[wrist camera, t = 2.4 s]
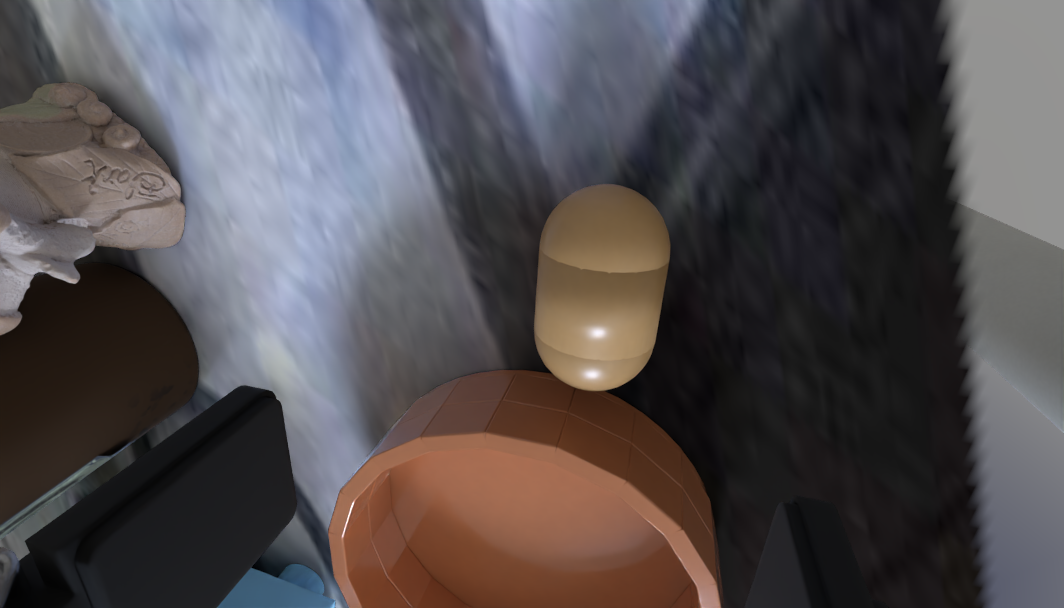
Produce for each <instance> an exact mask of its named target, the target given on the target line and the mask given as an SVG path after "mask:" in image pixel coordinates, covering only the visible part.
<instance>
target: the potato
mask: <svg viewBox="0 0 1064 608" xmlns="http://www.w3.org/2000/svg"><path fill="white" fill-rule="evenodd" d="M669 260H670V239H669V233H668V230H667V227H666V225H665V222H664V219H663V217H662V216H661V214H660V213H659V211H658V210H657V208H656V207H655V206H654V205H653V204H652V203H651V202H650V201H649V200H648V199H647V198H646V197H644V196H643V195H641V194H639V193H638V192H636V191H635V190H632V189H629V188H626V187H623V186H620V185H615V184H599V185H592V186H588V187H585V188H582V189H580V190H577V191H575V192H574V193H572V194H571V195H569V196H568V197H566V198H565V199H563V200H562V201H561V202H560V203H559V204H558V205H557V206H556V207H555V208H554V210H553V211H552V213H551V214H550V216H549V217H548V219H547V221H546V223H545V226H544V228H543V231H542V234H541V240H540V247H539V262H538V276H537V291H536V306H535V320H534V336H535V343H536V347H537V350H538V353H539V355H540V357H541V359H542V360H543V362H544V364H545V366H546V367H547V368H548V369H549V370H550V371H551V372H552V373H553V375H554V376H555V377H557V378H558V379H559V380H561V381H562V382H564V383H566V384H568V385H570V386H572V387H574V388H577V389H581V390H586V391H605V390H609V389H613V388H616V387H619V386H621V385H623V384H625V383H626V382H628V381H630V380H631V379H633V378H634V377H635V376H636V375H637V374H638V373H639V372H640V371H641V370H642V369H643V368H644V366H645V365H646V363H647V362H648V360H649V358H650V356H651V354H652V351H653V347H654V344H655V340H656V335H657V329H658V323H659V317H660V312H661V306H662V300H663V294H664V288H665V283H666V277H667V271H668V265H669Z"/></svg>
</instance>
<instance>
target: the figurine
mask: <svg viewBox="0 0 1064 608" xmlns="http://www.w3.org/2000/svg"><path fill="white" fill-rule="evenodd" d="M180 198H181V187H180V185H179V183H178V182H177V181H176V179H175V178H174V177H172V176H171V171H170V169H169V167H168V166H167V165H166V163H165V162H164V161H163V159H162V158H161V157H160V156H159V155H158V154H157V153H156V152H155V150H154V149H152V148H150V147H149V145H148V143H147V142H146V141H145V140H144V139H143V138H142V137H141V135H140V132H139V131H138V130H137V129H136V128H135V127H132V126H131V125H129V124H128V123H125V122H124V121H123V119H121V118H120V117H117V116H116V114H115V113H114V112H112V111H111V109H110V108H109V107H108V106H107V105H106V104H104V103H102V102H99V100H98V97H97V94H95V92H94V91H91V90H89V89H88V88H86V87H85V86H82V85H80V84H77V83H70V82H67V83H57V84H56V83H53V84H45V85H44V86H42V87H41V88H37V89H36V91H35V92H34V93H33V97H32V98H31V99H30V100H28V101H27V102H25V103H23V104H17V105H12V106H8V107H5V108H2V109H0V335H2V334H5V333H7V332H9V331H11V330H12V329H14V328H15V327H16V326H17V325H18V324H19V323H20V321H21V319H22V315H21V313H20V312H18V310H17V309H18V307H19V305H20V302H21V301H22V300H23V298H24V294H25V292H26V290H27V289H28V288H29V287H30V282H31V280H32V279H33V277H34V274H36V273H37V272H45V273H48V274H49V275H51V276H53V277H55V278H58V279H61V280H64V281H66V282H69V283H73V284H75V283H77V282H78V281H79V279H80V274H79V273H78V271H77V270H76V268H75V266H74V265H73V264H74V262H75V260H77V259H79V258H81V257H84V256H86V255H88V254H90V253H91V252H92V251H93V250H94V248H95V245H97V246H105V247H117V248H120V249H124V250H138V249H142V248H155V249H157V248H167V247H171V246H173V245H175V244H177V243H178V242H179V240H180V239H181V237H182V235H183V231H184V226H185V225H184V223H185V217H186V216H185V214H186V213H185V210H186V209H185V206H184V204H183V203H181V202H180Z"/></svg>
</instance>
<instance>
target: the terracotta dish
mask: <svg viewBox="0 0 1064 608" xmlns="http://www.w3.org/2000/svg"><path fill="white" fill-rule="evenodd" d="M328 536H329V544H330V551H331V559H332V567H333V573H334V577H335V579H336V582H337V584H338V586H339V588H340V590H341V592H342V594H343V596H344V598H345V600H346V602H347V604H348V606H349V608H724V606H723V595H722V584H721V573H720V562H719V551H718V543H717V537H716V531H715V523H714V518H713V512H712V507H711V502H710V499H709V497H708V495H707V492H706V489H705V487H704V484H703V482H702V481H701V479H700V477H699V475H698V473H697V471H696V469H695V468H694V466H693V464H692V463H691V462H690V460H689V459H688V458H687V456H686V455H685V454H684V452H683V451H682V449H681V448H680V447H679V446H678V445H677V444H676V443H675V442H674V440H673V439H672V438H671V437H670V436H669V435H668V434H667V433H666V432H665V431H664V430H663V429H662V428H661V427H659V426H658V425H657V424H656V423H655V422H653V421H652V420H651V419H650V418H648V417H647V416H646V415H645V414H643V413H642V412H641V411H639V410H637V409H636V408H634V407H633V406H631V405H630V404H628V403H626V402H625V401H623V400H622V399H620V398H618V397H616V396H614V395H612V394H610V393H608V392H606V391H586V390H581V389H577V388H574V387H572V386H570V385H568V384H566V383H564V382H562V381H561V380H559V379H558V378H557V377H555V376H554V375H553V374H551V373H545V372H537V371H528V370H496V371H488V372H480V373H475V374H471V375H467V376H464V377H460V378H456V379H454V380H452V381H449V382H447V383H444V384H442V385H440V386H438V387H436V388H434V389H433V390H431V391H430V392H428V393H426V394H425V395H423V396H422V397H421V398H419V399H417V400H416V401H415V402H414V403H413V404H412V405H411V406H410V407H409V408H408V409H407V410H406V412H405V413H404V414H403V415H402V416H401V417H400V418H399V420H398V421H397V422H396V423H395V424H394V425H393V426H392V427H391V428H390V429H389V430H388V432H387V433H386V434H385V435H384V437H383V438H382V439H381V440H380V442H379V443H378V444H377V445H376V446H375V448H374V449H373V450H372V451H371V453H370V454H369V455H368V456H367V458H366V459H365V460H364V461H363V462H362V464H361V465H360V466H359V467H358V469H357V470H356V471H355V472H354V473H353V475H352V476H351V477H350V478H349V480H348V481H347V482H346V483H345V485H344V486H343V487H342V488H341V490H340V492H339V495H338V498H337V502H336V505H335V509H334V512H333V515H332V519H331V522H330V526H329V529H328Z"/></svg>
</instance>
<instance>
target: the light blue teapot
mask: <svg viewBox="0 0 1064 608" xmlns="http://www.w3.org/2000/svg"><path fill="white" fill-rule="evenodd" d="M323 592H324V584H323V581H322V580H321V578H320V577H319V576H318V575H317V574H316V573H315V572H314V571H313V570H312V569H310V568H308V567H306V566H304V565H300V564H291V565H289V566H287V567H286V568H285V569H284V571H283V572H282V573H281V574H280V575H279V577H278V578H277V577H274V576H271V575H269V574H266V573H264V572H261V571H258V570H256V569H253V568H250V569H249V570H248V572H247V573H246V574H245V575H244V576H243V578H242V579H241V580H240V581H239V582H238V583H237V585H236V586H235V587H234V588H233V589H232V591H231V592H230V593H229V594H228V595H227V596H226V598H225V599H224V600H223V601H222V602H221V603H220V605H219V606H218V607H217V608H335V600H334V599H331V598H328V597H326V596H323V595H322V594H323Z"/></svg>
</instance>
